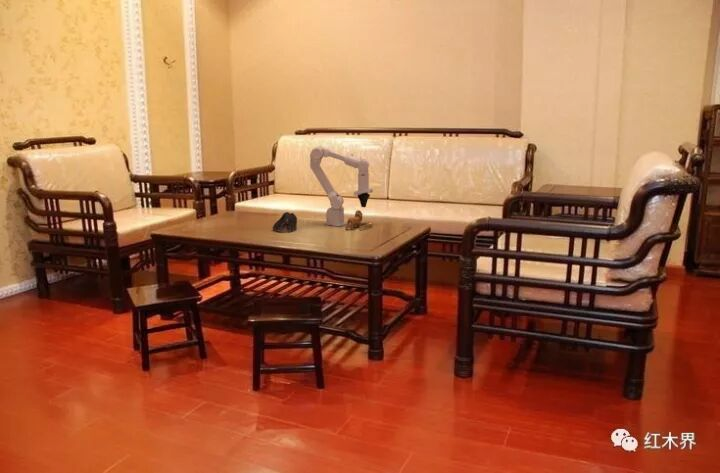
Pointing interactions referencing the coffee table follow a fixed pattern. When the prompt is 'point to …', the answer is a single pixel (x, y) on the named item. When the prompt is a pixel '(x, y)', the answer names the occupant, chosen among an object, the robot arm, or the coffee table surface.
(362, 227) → the wooden frame
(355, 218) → the lion figurine
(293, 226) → the crystal cluster
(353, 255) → the coffee table surface
